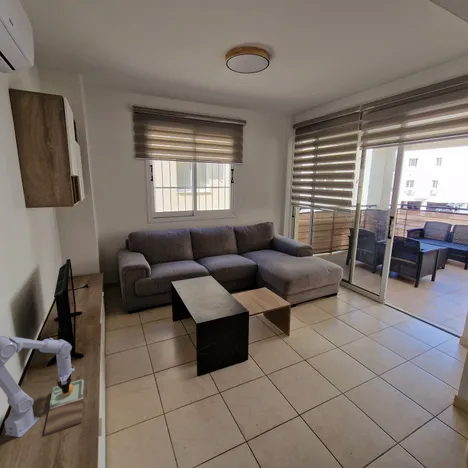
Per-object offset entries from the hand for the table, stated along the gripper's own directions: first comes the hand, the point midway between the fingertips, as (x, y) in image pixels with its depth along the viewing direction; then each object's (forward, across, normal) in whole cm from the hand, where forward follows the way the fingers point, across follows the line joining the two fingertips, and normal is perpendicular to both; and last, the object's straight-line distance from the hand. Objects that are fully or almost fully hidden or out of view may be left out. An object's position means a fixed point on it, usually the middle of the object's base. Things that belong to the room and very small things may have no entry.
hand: (66, 387), depth 133 cm
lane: (+5, -7, 0) cm, 9 cm away
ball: (+1, 0, 0) cm, 1 cm away
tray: (+4, 0, 0) cm, 4 cm away
